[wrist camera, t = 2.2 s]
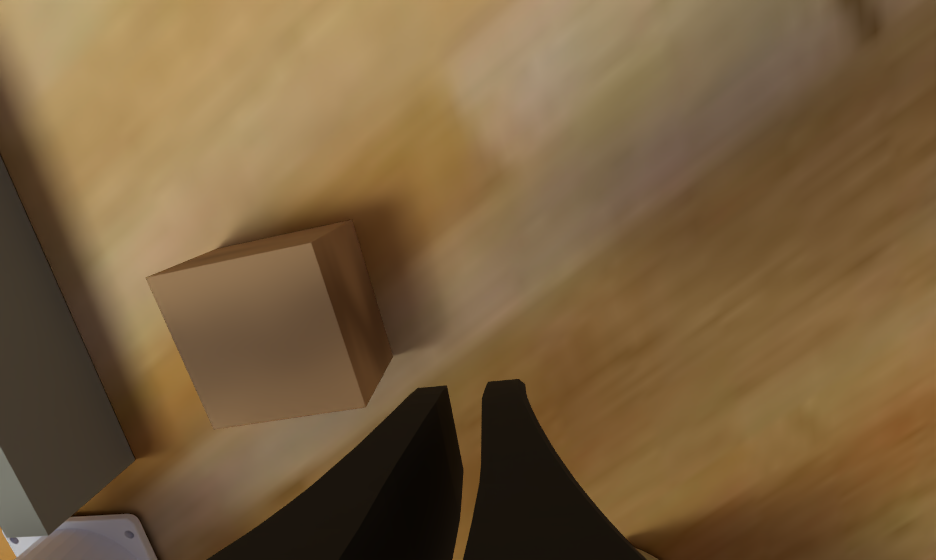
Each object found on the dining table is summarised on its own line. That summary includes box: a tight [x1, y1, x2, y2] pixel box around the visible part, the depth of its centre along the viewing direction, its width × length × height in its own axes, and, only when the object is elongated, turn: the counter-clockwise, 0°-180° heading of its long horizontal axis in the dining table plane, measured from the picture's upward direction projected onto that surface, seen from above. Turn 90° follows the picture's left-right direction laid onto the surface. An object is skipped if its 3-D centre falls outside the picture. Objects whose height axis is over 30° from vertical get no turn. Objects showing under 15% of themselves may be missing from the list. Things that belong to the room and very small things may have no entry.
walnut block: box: [146, 220, 393, 429], centre depth 18 cm, size 6×6×4 cm
